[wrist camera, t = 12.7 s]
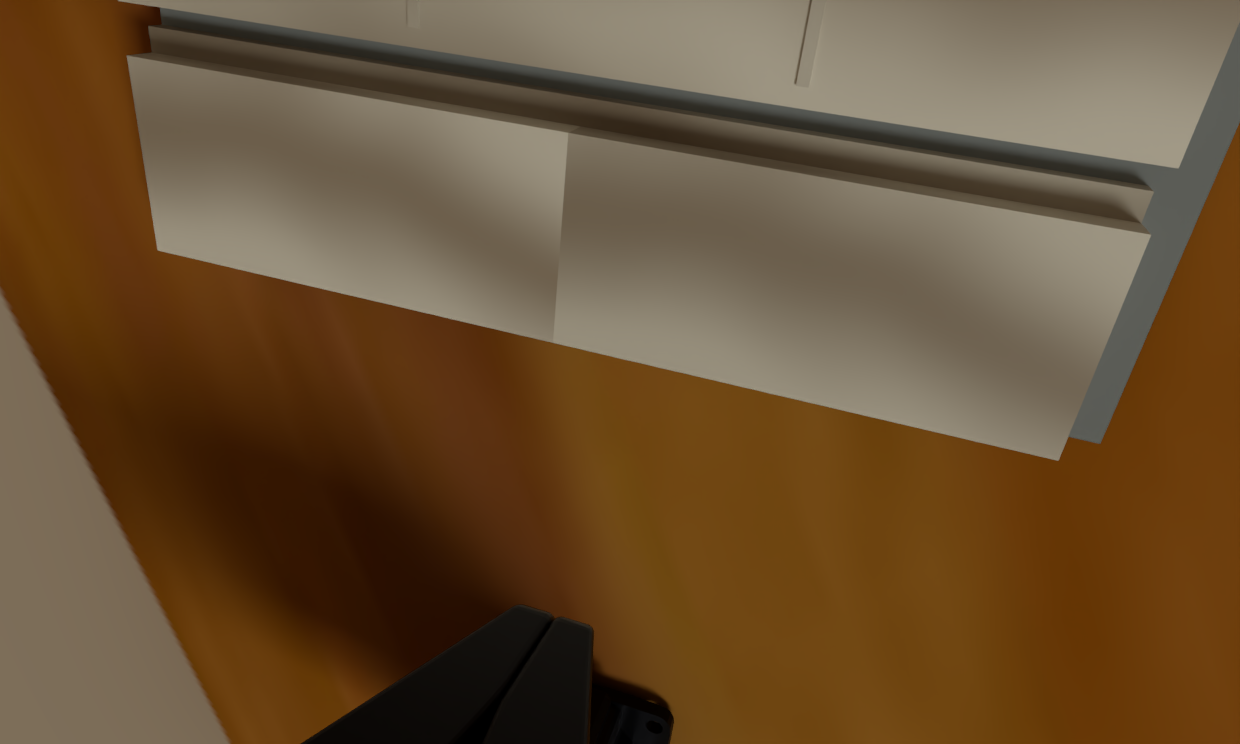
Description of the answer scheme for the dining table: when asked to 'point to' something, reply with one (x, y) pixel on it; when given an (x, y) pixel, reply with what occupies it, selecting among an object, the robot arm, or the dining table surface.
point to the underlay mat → (1165, 219)
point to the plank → (846, 56)
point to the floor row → (649, 231)
